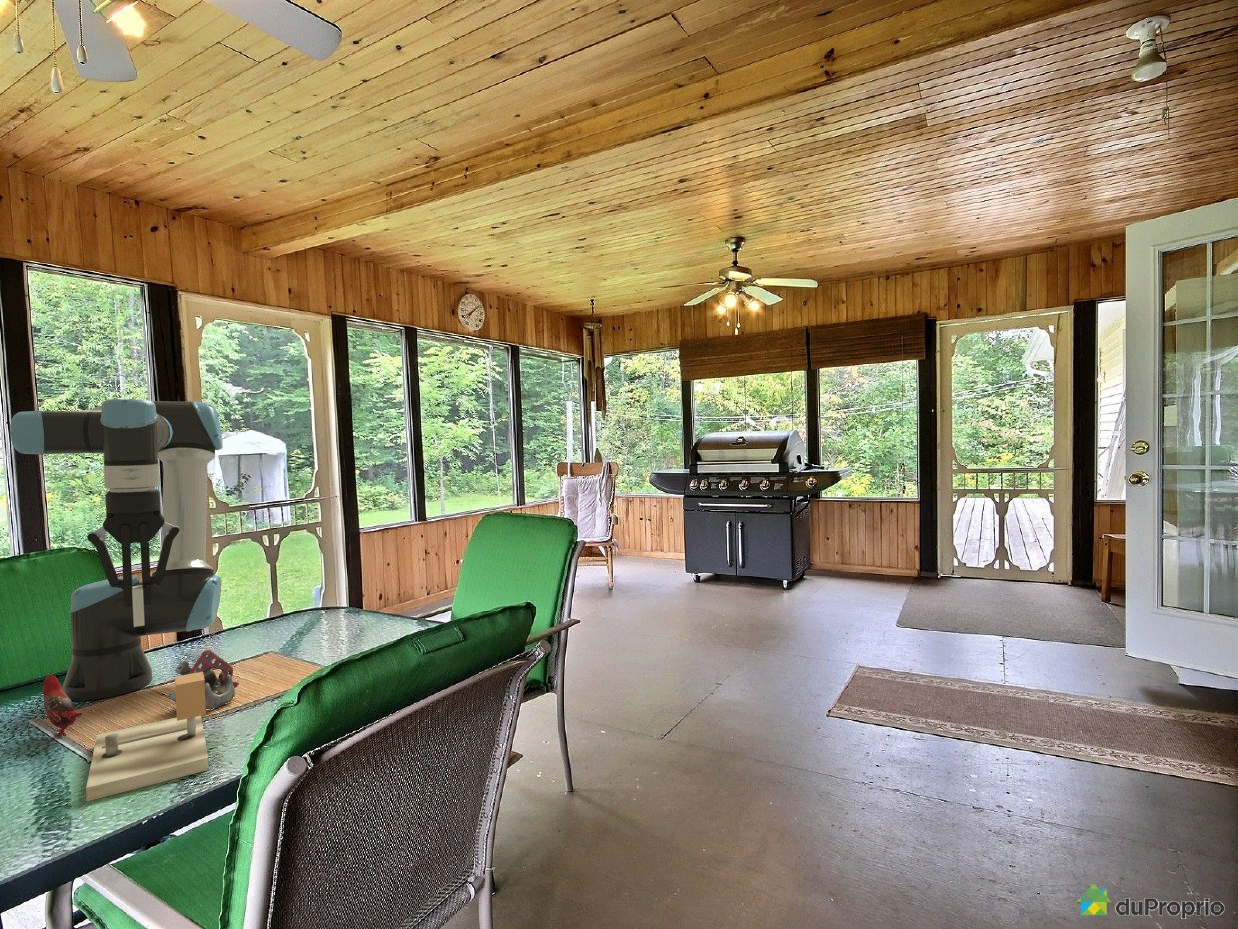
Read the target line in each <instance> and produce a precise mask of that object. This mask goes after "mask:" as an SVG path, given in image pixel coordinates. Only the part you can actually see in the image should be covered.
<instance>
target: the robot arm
mask: <svg viewBox="0 0 1238 929" xmlns="http://www.w3.org/2000/svg"><path fill="white" fill-rule="evenodd" d="M9 436H10V442H11V444H12V446H13V448H14V449H15V451H17V452H18V453H20V454H23V455H39V456H42V455H61V454H63V455H64V454H65V455H66V454H68V455H69V454H103V476H104V479H103V480H104V488H105V489H108V491H107V492H106V493H104V497H105V519H104V521H103V523H102V526H101V527H99V528H98V529H96V530H94V531H91V532H89V533H88V534H87V535H86V536H87V540H88V541H89V542H90V544H92V545H93V546H94V547H95V550H96V551H97V554H98V558H99V560H100V563H101V565H102V568H103V571H104V573H105V576H106V578H107V579H103V580H99V581H96V582H92V583H88V584H85V585H82V586H80V587H77V588H76V589H75V590H73V592H72V593H71V596H70V609H69V613H70V629H71V647H72V648H71V649H72V651H71V652H72V657H71V658H72V659H71V662H70V664H69V667H68V669H67V673H66V675H65V679H64V681H63V684H62V688H63V690H64V692H65V693H66V695H67V696H68V697H69V698H70V700H71V701H76V702H77V701H79V702H80V701H81V702H82V701H91V700H101V699H107V698H112V697H116V696H120V695H124V694H126V693H127V694H128V693H131V692H134V691H137V690H138V689H141V688H143V687H145V686H147V685H148V684H150V683H151V682H152V681H153V670H152V669H153V668H152V667H151V665H150V662H149V660H148V658H147V656H146V654H145V652H144V649H143V648H142V636H151V635H161V634H169V633H178V632H180V633H181V632H191V631H195V630H196V631H197V630H202V629H207V628H208V627H210V626H212V625H213V623H214V622H215V621H216V618H217V615H218V612H219V609H220V607H219V606H220V603H221V602H220V601H221V596H222V578H221V576H219V575H216V574H214V568H213V566H211V565H210V564H208V562H207V519H208V518H207V513H208V512H207V510H208V509H207V505H208V503H207V502H208V500H207V499H208V464H209V463H210V462H212V460H214V459H215V458H216V451H220V450H222V449H223V448H224V447H223V433H222V428H221V423H220V418H219V414H218V412H217V409H216V407H215V405H213V403H211V402H206V401H204V402H203V401H194V400H191V401H175V400H174V401H172V400H171V401H170V400H169V401H168V400H166V401H165V400H159V401H157V400H150V399H149V400H148V399H131V398H130V399H128V398H127V399H125V398H121V399H119V398H118V399H117V398H116V399H114V398H113V399H112V398H111V399H105V400H104V401H103V402H102V403H101V405H99V406H96V407H93V408H92V409H87V410H82V409H81V410H60V411H59V410H58V411H55V410H53V411H50V410H49V411H47V410H45V411H44V410H43V411H41V410H35V411H34V410H31V411H19V412H17V413H15V414H14V415H13V417H12V418H11V421H10V424H9ZM159 460H160V461H161V462H162V463H163V479H162V480H163V481H162V483H163V484H162V485H163V486H162V508H161V492H160V491H159V489H157V487H159V486H160V466H159V465H160V464H159ZM161 511H162V512H161ZM160 530H161V542H160V547H161V548H160V553H159V557H158V560H157V566H156V568H155V569H154V570H153V571H152V573H151V558H150V541H152V540H153V539H154V537H155V536H156V535H157V534H158V532H160ZM106 533H108V534H109V536H111V537H112V538H113V539H114V540H115V541H116V542H117V543H119V544H121V559H122V560H121V561H122V562H121V566H122V567H121V568H122V576H118V573H117V571H116V569H115V566H114V563H113V560H112V556H111V554H110V552H109V549H108V547H107V545H106V543H105V541H106V540H107V535H106ZM135 543H136V544H140V562H141V563H140V564H141V565H140V566H141V579H140V578H139V576H138V575H133V573H132V572H133V570H132V569H133V568H132V550H131V549H132V547H131V546H132V544H135Z"/></svg>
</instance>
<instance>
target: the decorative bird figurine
mask: <svg viewBox="0 0 1238 929" xmlns="http://www.w3.org/2000/svg"><path fill="white" fill-rule="evenodd" d="M42 693H43V702H44V703H43V704H44V708H45V712H46V715H47V718H48V719H49V721H50V723H52V725H53V726H54V727H56V728H55V730H56V729H57V730H56V733H57V732H59V733H60V734H59V735H61V734H64V735H66V736H67V733H66V732H65V730H66V729H67V728H68V727H69V726H72V725H73V724H74V723H75V721H76V719H77V718H78V717H81V716H83V712H82V711H81V712H79V711H76V708H75V705H74V703H73V702H72V701H73V700H70V698H69V697H68V696H67V695H66V693H65V692H64V690H63V685H62V684H61V683H60V681H59V679H58V678H57V677H56V676H55V675H52V674H50V675H47V676H46V677H45V678H44V680H43V685H42ZM58 728H59V729H58Z"/></svg>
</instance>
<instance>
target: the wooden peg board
mask: <svg viewBox="0 0 1238 929" xmlns="http://www.w3.org/2000/svg"><path fill="white" fill-rule="evenodd" d="M195 724H196V733H194V734H191V735H188V734H187V719H184V720H179V721H177V716H176V717H172V718H167V719H162V720H159V721H157V720H156V721H153V722H148V723H144V724H139V725H135V726H130V727H125V728H119V729H117V730H116V729H115V730H111V731H107V732H106V731H105V732H102V733H98V734H96V738H95V739H96V740H95V744H94V748H93V754H92V758H91V761H90V762H91V763H90V767H89V773H88V776H87V777H88V778H87V781H86V782H87V783H86V787H85V791H86V792H85V793H86V794H85V796H86V802H91V801H94V800H97V799H101V798H106V797H109V796H113V795H117V794H121V793H125V792H129V791H133V790H137V789H140V788H143V787H148V786H151V785H156V784H160V783H164V782H167V781H171V780H175V779H178V778H179V779H180V778H182V777H186V776H190V775H194V774H198V773H203V772H206V771H209V755H208V754H209V753H208V748H207V744H206V738H205V732H204V725H203V719H202V716H197V717H195Z"/></svg>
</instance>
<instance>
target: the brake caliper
mask: <svg viewBox="0 0 1238 929" xmlns="http://www.w3.org/2000/svg"><path fill="white" fill-rule="evenodd" d="M213 660H214V662H213ZM212 662H213V663H212ZM200 665H201V667H199V666H200ZM213 669H216V670H220V671H221V672H220V673H219V674H218V677H217V675H216V672H215V671H214V670H213ZM174 670H175V673H176V674H178V675H179V676H182V675H187V674H193V673H198V672H203V675H204V680H205V709H213V708H216V707H218V706H220V705H222V706H224V705H223V704H225V703H228V702H230V703H231V702H232V700H233V699H234V698H233V697H235V696H238V695H237V694H236V691H235V689H236V688H237V687H238V686H239V685H240V683H239V682H238V681H233V675H234V674H233V673H234V668H233V666H231V664H230V663H229V662H228V661H226V660H225V659H223V658H221V657H220V656H219V655H217V654H216V653H215V652H213V651H212V650H210V649H205V650H204V651H202V653H201V654H200V656H199V657H198V659H197V660H196V661H195V663H194V664H193V666H192V667H191V666H190V662H189V661H187V660H180V661H179V664H178V665H177V666H176V668H175V669H174ZM168 698H169V699H170V700H171V701H173V703H176V692H172V693H170V694H168ZM228 704H229V703H228ZM225 705H226V704H225ZM220 707H221V706H220ZM218 708H219V707H218ZM216 709H217V708H216Z"/></svg>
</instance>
